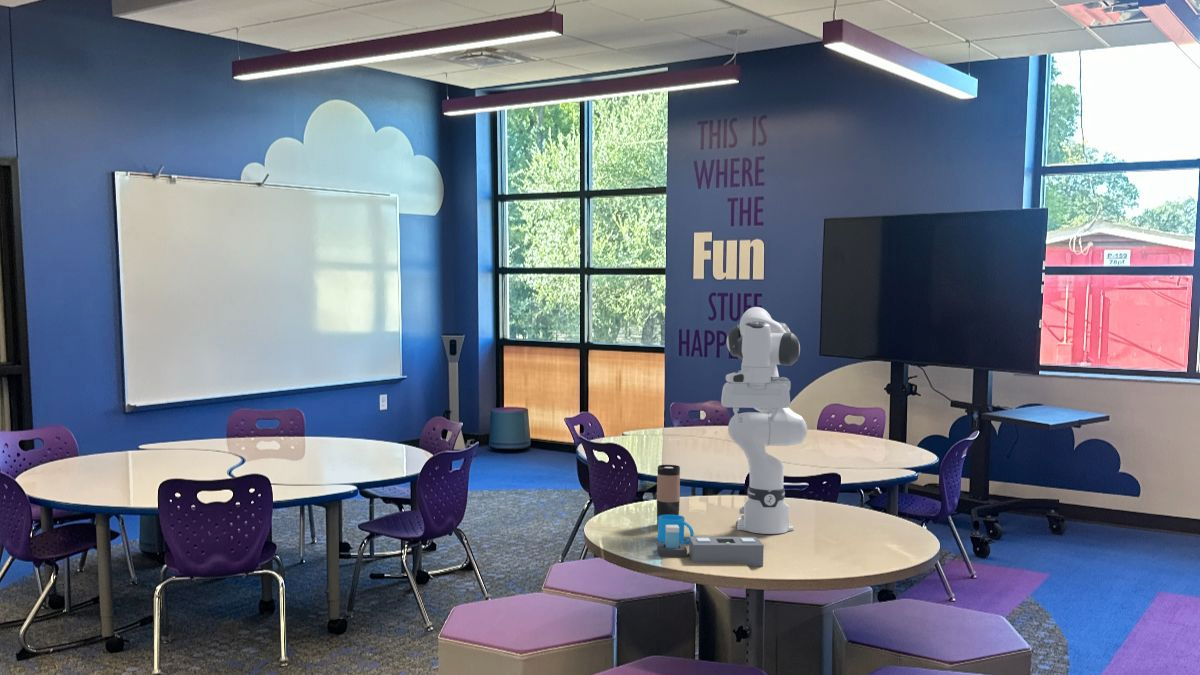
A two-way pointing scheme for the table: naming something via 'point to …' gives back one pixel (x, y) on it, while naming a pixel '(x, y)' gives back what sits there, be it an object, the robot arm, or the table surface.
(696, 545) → the panel
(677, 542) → the plug
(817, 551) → the table surface
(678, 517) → the mug
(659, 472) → the travel mug
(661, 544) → the holster
